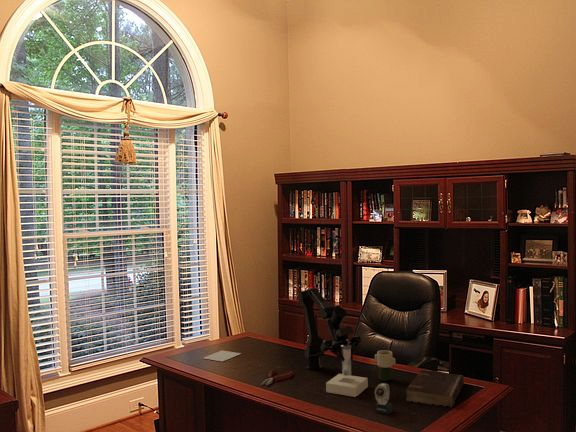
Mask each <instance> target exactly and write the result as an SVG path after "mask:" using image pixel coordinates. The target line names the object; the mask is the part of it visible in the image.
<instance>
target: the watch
mask: <svg viewBox="0 0 576 432" xmlns="http://www.w3.org/2000/svg"><path fill="white" fill-rule="evenodd" d="M390 392H391V391H390V386H389V384H388V383H383V382H382V383H381V382H380V384H378V385H377V386H375V389H374V396H375V400H376V403H375V404H374V413H376V412H378V413H377V414H381V413H383V414H382V415H386V414H389V413H390V414H391V413H392V412H393V403H392V402H389V399H390V394H391V393H390ZM390 414H389V415H390Z"/></svg>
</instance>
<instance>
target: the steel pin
mask: <svg viewBox="0 0 576 432" xmlns="http://www.w3.org/2000/svg"><path fill="white" fill-rule="evenodd" d="M340 349H341V353H342V355H343V358H344V361H342V360H341V372H342V373H341V374H342V375H345V376H349V375H351V376H352V360H351V344H341V346H340Z"/></svg>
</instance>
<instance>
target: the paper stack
mask: <svg viewBox="0 0 576 432" xmlns="http://www.w3.org/2000/svg"><path fill="white" fill-rule="evenodd" d="M241 354H242V353H241V352H233V351H228V350H220V351H217V352H215V353H214V352H213V353H212V354H210V355H207V356H205V357H203V359H204V360H206V359H207V360H212V361H217V362H225V361H227V360H229V359H230V360H231V359H232V358H234V357H236V356H239V355H241Z"/></svg>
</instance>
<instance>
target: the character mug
mask: <svg viewBox="0 0 576 432" xmlns="http://www.w3.org/2000/svg"><path fill="white" fill-rule="evenodd" d="M374 361H375V362H377V364H376V365H377V366H378V367H379V369H378V380H380V381H386V382H387V381H391V380H393V373H392V369H391V367H393V366H394V365H396V358H395V357H393V352H392V351H391V350H386V349H385V350H378V351H377V353H376V354H374Z"/></svg>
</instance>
